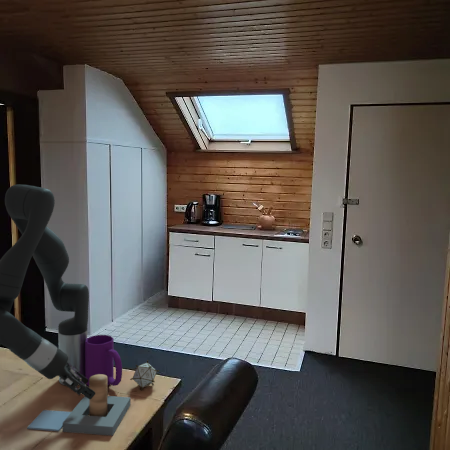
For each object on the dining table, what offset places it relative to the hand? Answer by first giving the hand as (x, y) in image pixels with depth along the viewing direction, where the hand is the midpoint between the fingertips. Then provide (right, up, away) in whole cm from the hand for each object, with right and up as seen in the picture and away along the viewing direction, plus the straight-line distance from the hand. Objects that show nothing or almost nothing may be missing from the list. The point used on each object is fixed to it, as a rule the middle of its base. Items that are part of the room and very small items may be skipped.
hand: (89, 389), depth 125 cm
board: (+2, -9, +2) cm, 10 cm away
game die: (+12, -7, +22) cm, 26 cm away
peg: (+2, -9, +2) cm, 10 cm away
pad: (-11, -9, 0) cm, 14 cm away
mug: (-1, -7, +22) cm, 23 cm away
